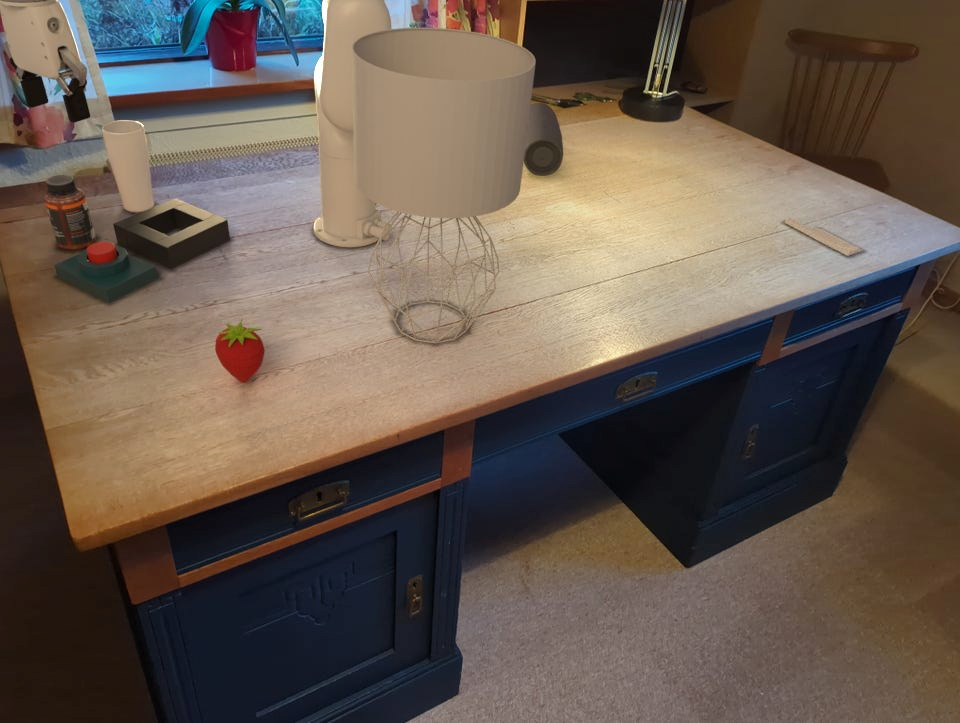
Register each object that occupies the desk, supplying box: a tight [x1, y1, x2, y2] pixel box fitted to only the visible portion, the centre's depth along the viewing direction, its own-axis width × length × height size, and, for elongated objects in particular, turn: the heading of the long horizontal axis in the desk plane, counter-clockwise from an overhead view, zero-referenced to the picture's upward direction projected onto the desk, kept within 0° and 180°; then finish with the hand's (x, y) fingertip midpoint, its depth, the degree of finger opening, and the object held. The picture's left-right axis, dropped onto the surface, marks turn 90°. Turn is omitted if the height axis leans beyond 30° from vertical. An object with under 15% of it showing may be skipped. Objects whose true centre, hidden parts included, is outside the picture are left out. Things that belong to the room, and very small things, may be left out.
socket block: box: [112, 197, 231, 270], centre depth 129 cm, size 13×13×4 cm
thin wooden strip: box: [784, 217, 864, 257], centre depth 151 cm, size 5×15×1 cm, turn 33°
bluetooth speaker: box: [523, 102, 564, 177], centre depth 168 cm, size 23×9×10 cm, turn 179°
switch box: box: [53, 244, 159, 304], centre depth 118 cm, size 12×9×4 cm
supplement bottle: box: [43, 174, 97, 251], centre depth 124 cm, size 6×6×11 cm
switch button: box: [86, 241, 117, 263], centre depth 117 cm, size 4×4×2 cm
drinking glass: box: [101, 119, 155, 213], centre depth 134 cm, size 7×7×15 cm
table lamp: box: [352, 27, 536, 344], centre depth 105 cm, size 22×22×40 cm
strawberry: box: [214, 317, 265, 384], centre depth 99 cm, size 6×8×10 cm
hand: (59, 112), depth 115 cm, fingers open, 9 cm apart
